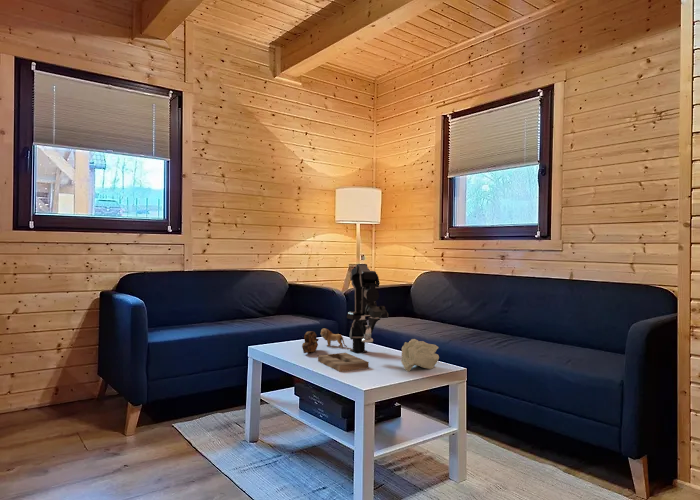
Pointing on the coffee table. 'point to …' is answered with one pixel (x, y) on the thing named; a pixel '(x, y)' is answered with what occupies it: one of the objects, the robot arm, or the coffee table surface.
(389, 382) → the coffee table surface
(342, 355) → the keyhole plate
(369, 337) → the steel peg
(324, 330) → the lion figurine
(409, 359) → the folded clay sculpture
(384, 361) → the coffee table surface
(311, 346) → the wooden carving
